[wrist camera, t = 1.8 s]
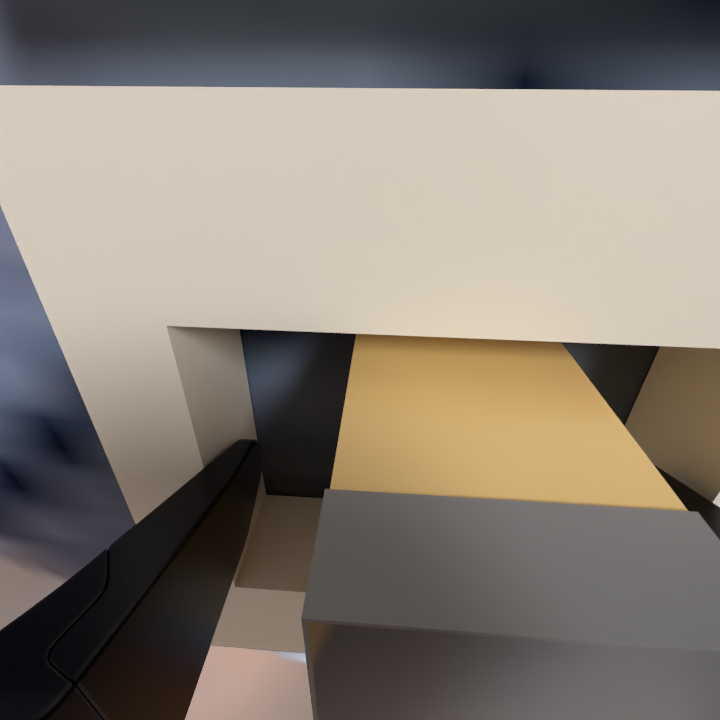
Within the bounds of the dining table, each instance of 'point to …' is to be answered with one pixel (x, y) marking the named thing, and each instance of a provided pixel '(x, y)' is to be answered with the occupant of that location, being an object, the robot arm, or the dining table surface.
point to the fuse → (502, 549)
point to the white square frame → (356, 261)
